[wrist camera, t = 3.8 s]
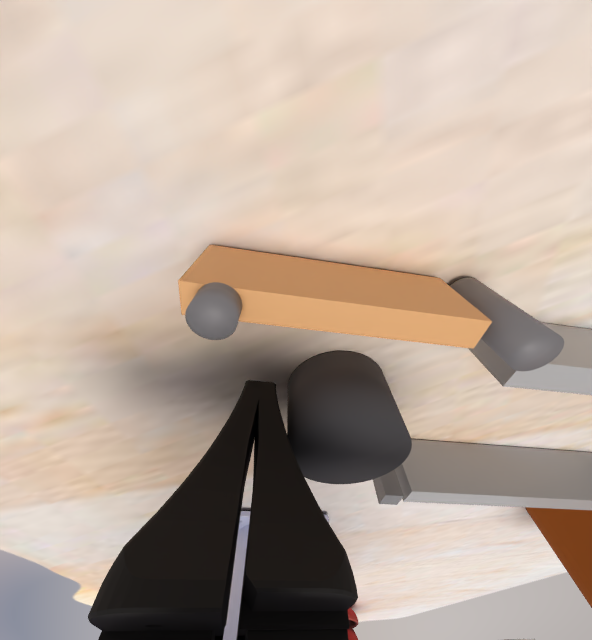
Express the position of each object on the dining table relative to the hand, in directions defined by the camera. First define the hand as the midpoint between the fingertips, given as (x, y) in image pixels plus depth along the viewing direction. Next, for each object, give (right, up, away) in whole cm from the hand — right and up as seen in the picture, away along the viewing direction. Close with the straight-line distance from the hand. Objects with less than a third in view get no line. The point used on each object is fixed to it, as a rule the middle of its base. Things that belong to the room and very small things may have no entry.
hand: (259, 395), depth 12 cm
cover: (+4, +5, -2) cm, 7 cm away
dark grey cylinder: (+4, 0, +1) cm, 4 cm away
